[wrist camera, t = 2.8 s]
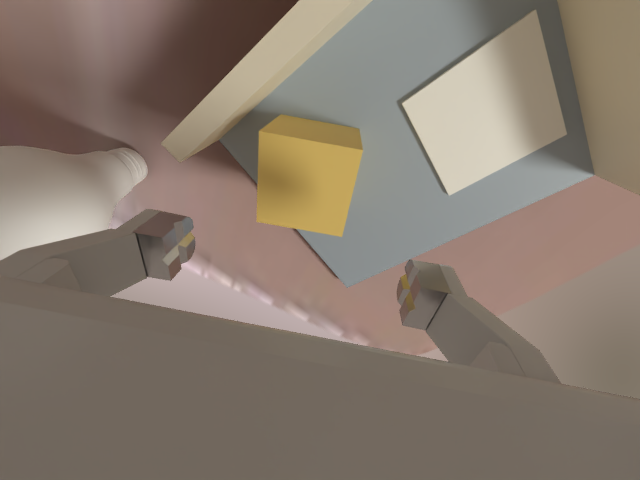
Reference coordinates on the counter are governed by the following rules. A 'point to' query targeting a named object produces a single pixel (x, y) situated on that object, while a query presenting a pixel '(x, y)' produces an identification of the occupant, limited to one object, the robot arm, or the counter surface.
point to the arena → (439, 110)
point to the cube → (307, 174)
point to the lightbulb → (61, 193)
